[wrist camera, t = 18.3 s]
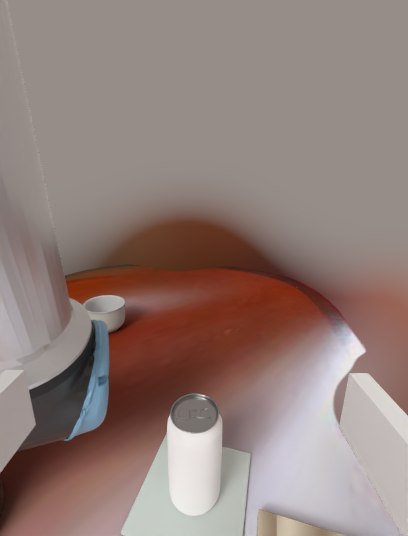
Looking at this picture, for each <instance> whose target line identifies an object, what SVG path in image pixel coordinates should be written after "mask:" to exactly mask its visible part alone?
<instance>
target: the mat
mask: <svg viewBox="0 0 408 536" xmlns="http://www.w3.org/2000/svg"><path fill="white" fill-rule="evenodd" d="M250 456H251V453H247V452H243V451H239V450H235V449H231V448H227V447H223V446H222V457H221V480H220V493H219V497H218V499H217V501H216V503H215V505H214V506H213V507H212V508H211V509H210V510H209V511H208V512H206V513H204V514H202V515H198V516H190V515H186V514H184V513H182V512H180V511H179V510H178V509H177V508H176V507H175V506H174V504H173V502H172V500H171V497H170V492H169V475H168V446H167V433H166V435H165V438H164V440H163V442H162V444H161V446H160V448H159V451H158V453H157V455H156V457H155V459H154V461H153V464H152V466H151V468H150V470H149V472H148V474H147V477H146V479H145V481H144V483H143V485H142V487H141V490H140V492H139V494H138V496H137V498H136V500H135V503H134V505H133V507H132V509H131V511H130V513H129V516H128V518H127V520H126V522H125V524H124V526H123V529H122V531H121V534H122V535H124V536H243V528H244V518H245V508H246V497H247V487H248V477H249V466H250Z"/></svg>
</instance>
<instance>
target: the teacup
mask: <svg viewBox="0 0 408 536" xmlns="http://www.w3.org/2000/svg"><path fill="white" fill-rule="evenodd" d="M83 306H84V307H85V309H86V310H87V311H88V314H89V316H90V319H91V320H94V319H95V320H97V321H103V322H105V323H106V325H107V329H108V333H112V332H114V331H116V330H117V329H118V328H119V327H121V326H122V324H123V323H124V320H125V300H124V299H123V298H121V297H118V296H113V295H105V296H98V297H94V298H91V299H89V300H87V301H86V302H85V303H84V305H83Z"/></svg>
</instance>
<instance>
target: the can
mask: <svg viewBox="0 0 408 536" xmlns="http://www.w3.org/2000/svg"><path fill="white" fill-rule="evenodd" d="M167 446H168V475H169V492H170V497H171V500H172V502H173V504H174V506H175V507H176V508H177V509H178V510H179V511H180V512H182V513H184V514H186V515H190V516H198V515H202V514H204V513H206V512H208V511H209V510H210V509H211V508H212V507H213V506H214V505H215V503H216V501H217V499H218V497H219V493H220V480H221V457H222V418H221V416H220V413H219V408H218V405H217V404H216V402H215V401H214V400H213V399H212V398H210V397H208V396H206V395H203V394H197V393H194V394H188V395H185V396H182V397H180V398H179V399H178V400H176V401H175V403H174V404H173V406H172V408H171V411H170V416H169V418H168V422H167Z"/></svg>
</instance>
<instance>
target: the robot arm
mask: <svg viewBox="0 0 408 536" xmlns="http://www.w3.org/2000/svg"><path fill="white" fill-rule="evenodd" d="M108 375H109V339H108V329H107V325H106V323H105V322H103V321H97V320H95V319H94V320H91V319H90V316H89V314H88V311H87V310H86V309H85V307H84V306H82V305H81V304H80V303H79V302H77V301H75V300H73V299H71V298H69V296H68V291H67V286H66V281H65V276H64V272H63V267H62V262H61V257H60V252H59V248H58V243H57V238H56V233H55V228H54V223H53V219H52V214H51V209H50V204H49V200H48V195H47V190H46V185H45V181H44V175H43V171H42V166H41V161H40V156H39V152H38V147H37V142H36V137H35V132H34V127H33V123H32V118H31V114H30V108H29V103H28V99H27V94H26V89H25V84H24V79H23V74H22V70H21V66H20V60H19V55H18V50H17V46H16V41H15V36H14V31H13V27H12V22H11V17H10V12H9V8H8V3H7V0H0V473H1V471H2V470H3V469H4V467H5V466H6V465H7V463H8V462H9V460H10V459H11V458H12V456H13V455H14V454H15V453H16V452H20V451H23V450H27V449H30V448H34V447H38V446H41V445H45V444H49V443H52V442H56V441H59V440H63V441H68V440H71V439H72V438H73V437H74V436H77V435H80V434H83V433H86V432H89V431H92V430H94V429H96V428H97V427H99V426H100V425H101V423H102V422H103V421H104V419H105V416H106V413H107V406H108V393H109V379H108ZM339 428H340V430H341V432H342V433H343V435H344V437H345V439H346V440H347V442H348V444H349V445H350V447H351V449H352V451H353V452H354V454H355V456H356V457H357V459H358V461H359V463H360V464H361V466H362V468H363V469H364V471H365V473H366V474H367V476H368V478H369V480H370V481H371V483H372V485H373V486H374V488H375V490H376V492H377V493H378V495H379V497H380V498H381V500H382V502H383V504H384V505H385V507H386V509H387V510H388V512H389V514H390V516H391V517H392V519H393V521H394V522H395V524H396V526H397V528H398V529H399V531H400V533H401V534H402V536H408V416H407V415H406V414H405V413H404V411H403V410H402V409H401V408H400V407H399V406H398V405H397V404H396V403H395V402H394V401H393V400H392V399H391V397H390V396H389V395H388V394H387V393H386V392H385V391H384V390H383V389H382V388H381V387H380V386H379V385H378V383H377V382H376V381H375V380H374V379H373V378H372V377H371V376H370V375H369V374H368V373H349V378H348V383H347V388H346V394H345V399H344V405H343V409H342V414H341V420H340V425H339ZM3 503H4V489H3V485H2V482H1V478H0V515H1V512H2V508H3Z"/></svg>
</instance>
